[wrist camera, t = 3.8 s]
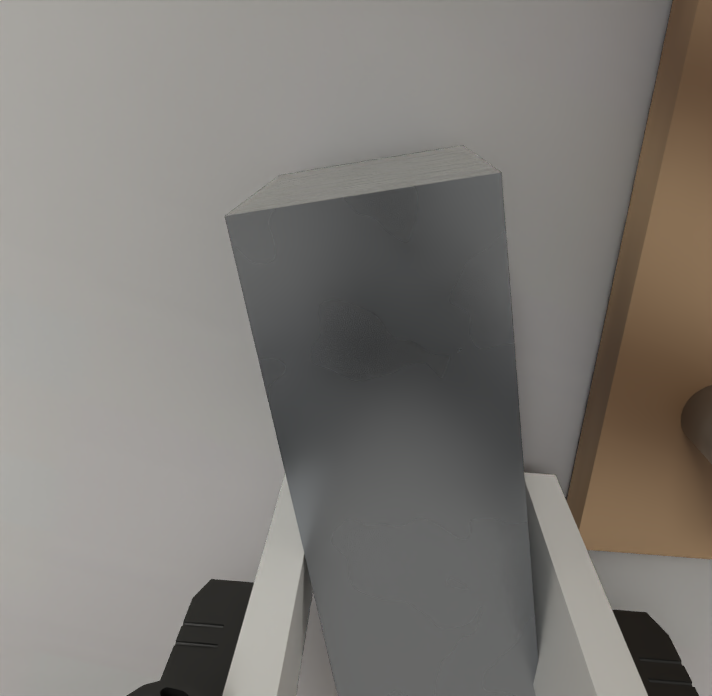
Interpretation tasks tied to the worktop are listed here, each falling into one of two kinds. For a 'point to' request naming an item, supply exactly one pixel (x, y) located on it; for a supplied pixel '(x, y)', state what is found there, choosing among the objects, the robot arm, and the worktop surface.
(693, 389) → the peg rack
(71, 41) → the worktop surface
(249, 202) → the steel bar
